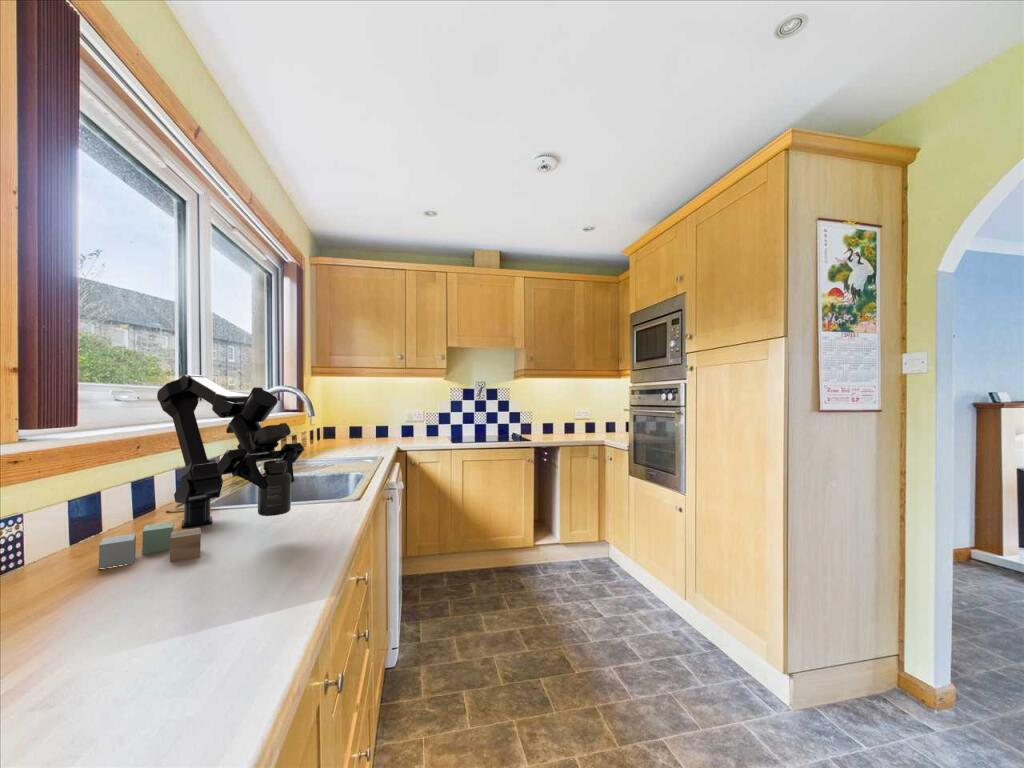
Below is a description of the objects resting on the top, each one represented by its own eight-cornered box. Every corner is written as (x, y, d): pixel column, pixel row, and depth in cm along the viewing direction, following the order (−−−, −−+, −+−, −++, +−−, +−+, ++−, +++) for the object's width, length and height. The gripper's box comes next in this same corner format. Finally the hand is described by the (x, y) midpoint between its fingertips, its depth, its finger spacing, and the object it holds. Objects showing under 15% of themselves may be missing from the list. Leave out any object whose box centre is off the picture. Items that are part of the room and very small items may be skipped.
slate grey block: (102, 562, 88) (103, 538, 88) (135, 557, 91) (135, 533, 91) (98, 570, 84) (99, 545, 84) (132, 564, 87) (133, 539, 87)
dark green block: (144, 548, 96) (145, 525, 96) (173, 543, 99) (173, 521, 99) (142, 554, 92) (142, 531, 92) (171, 550, 95) (172, 527, 95)
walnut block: (171, 555, 92) (171, 531, 92) (200, 550, 95) (200, 527, 95) (169, 563, 88) (170, 538, 88) (200, 557, 91) (200, 533, 91)
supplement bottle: (296, 509, 104) (298, 459, 104) (278, 517, 97) (280, 464, 97) (270, 508, 105) (271, 458, 105) (250, 516, 98) (252, 463, 98)
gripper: (226, 413, 95) (257, 468, 90) (300, 411, 112) (329, 457, 107) (204, 447, 98) (232, 502, 93) (279, 439, 115) (306, 485, 110)
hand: (279, 484), depth 100 cm, fingers closed on supplement bottle, 7 cm apart
